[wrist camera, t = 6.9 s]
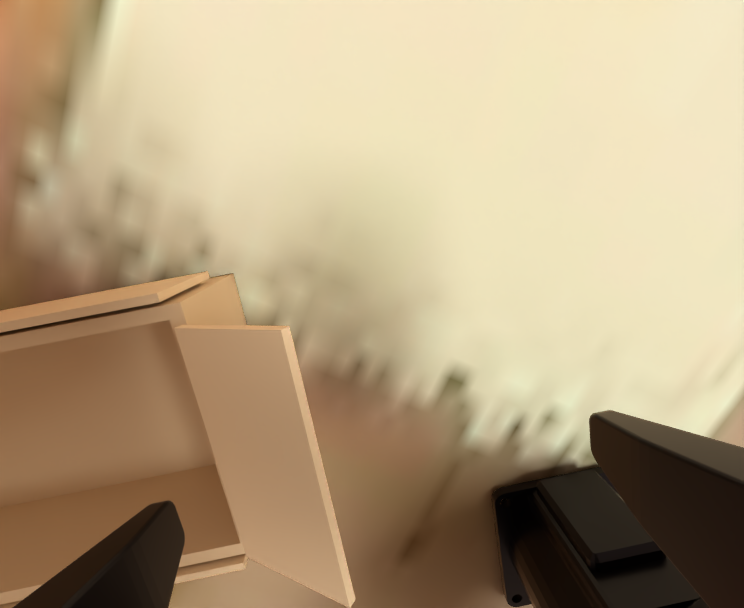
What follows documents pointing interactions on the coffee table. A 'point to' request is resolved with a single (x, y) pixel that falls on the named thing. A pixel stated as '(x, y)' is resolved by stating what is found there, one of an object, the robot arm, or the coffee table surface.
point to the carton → (108, 428)
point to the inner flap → (267, 451)
